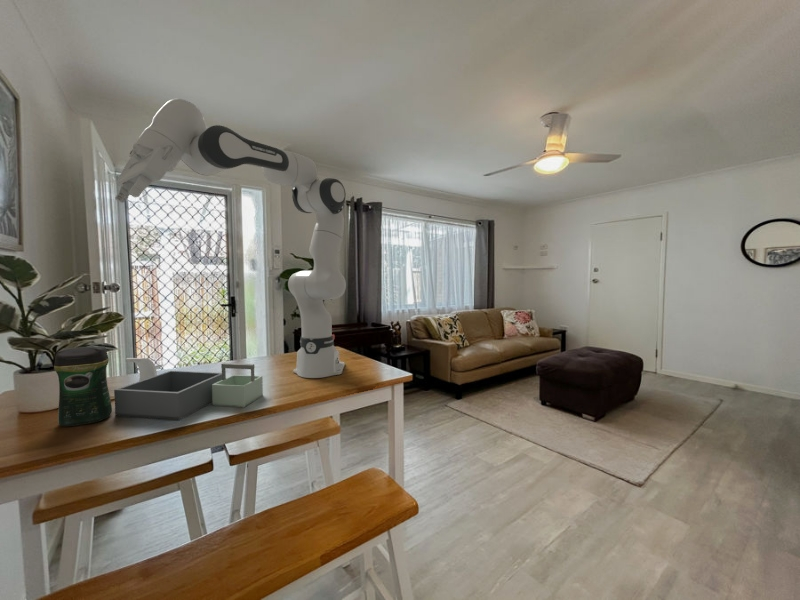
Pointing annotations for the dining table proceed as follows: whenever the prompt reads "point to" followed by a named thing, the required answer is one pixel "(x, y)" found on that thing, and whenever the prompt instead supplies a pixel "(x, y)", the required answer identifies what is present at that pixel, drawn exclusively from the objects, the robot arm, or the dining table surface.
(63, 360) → the coffee jar
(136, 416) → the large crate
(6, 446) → the dining table surface
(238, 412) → the dining table surface
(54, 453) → the dining table surface
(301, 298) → the robot arm
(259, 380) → the box
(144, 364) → the white curved piece
